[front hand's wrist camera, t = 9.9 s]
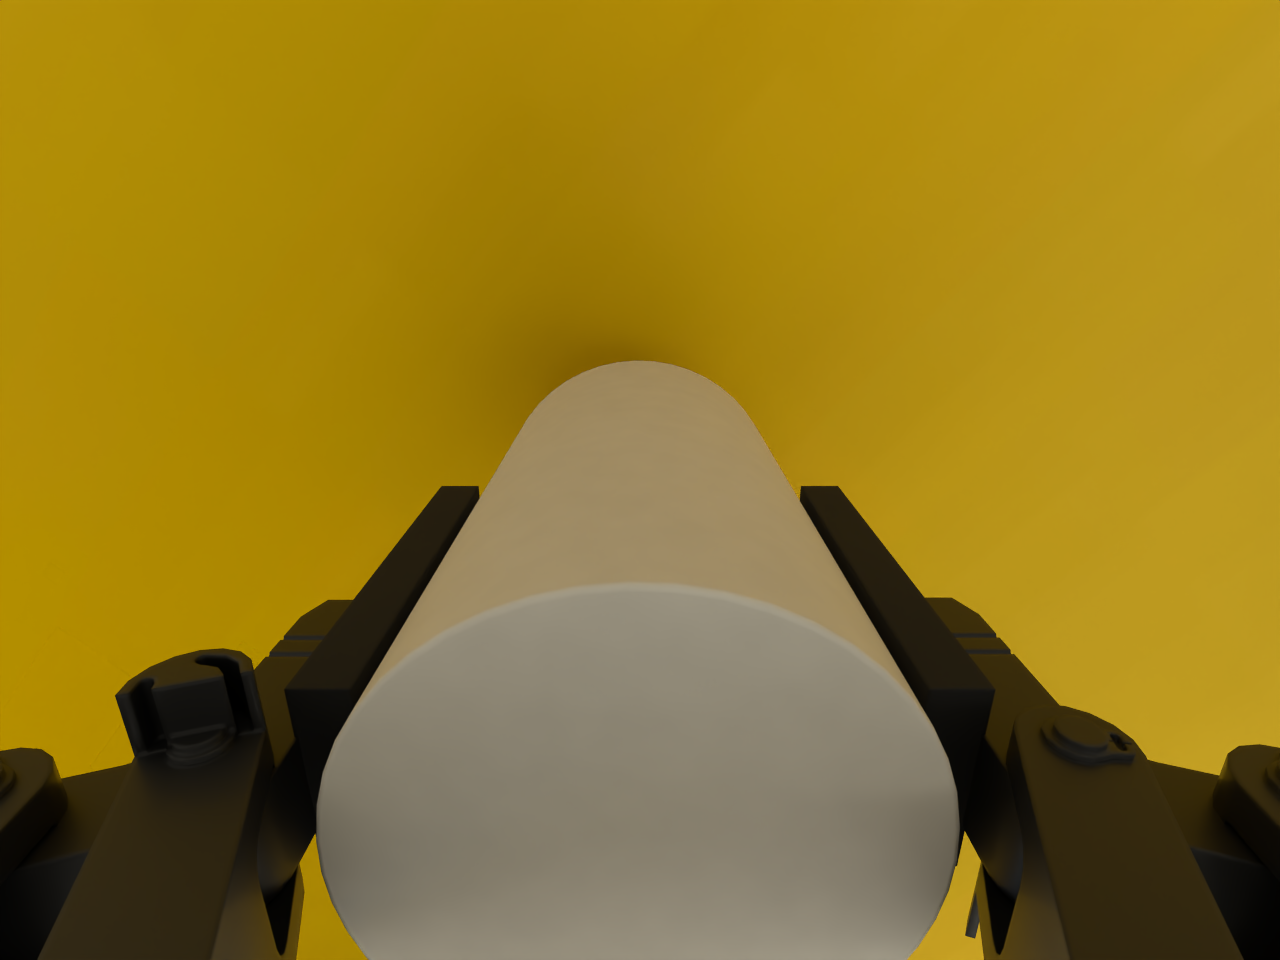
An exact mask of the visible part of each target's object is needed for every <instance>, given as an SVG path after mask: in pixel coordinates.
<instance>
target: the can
mask: <svg viewBox="0 0 1280 960" xmlns="http://www.w3.org/2000/svg"><path fill="white" fill-rule="evenodd" d="M959 832H960V821H959V809H958V797H957V790H956V786H955V782H954V778H953V774H952V771H951V767H950V763H949V759H948V757H947V755H946V753H945V751H944V748H943V746H942V744H941V742H940V740H939V738H938V736H937V733H936V731H935V729H934V727H933V725H932V724H931V722H930V720H929V718H928V717H927V715H926V713H925V712H924V710H923V708H922V707H921V705H920V703H919V702H918V700H917V698H916V697H915V695H914V693H913V691H912V690H911V688H910V686H909V685H908V683H907V681H906V680H905V678H904V676H903V675H902V673H901V671H900V669H899V668H898V666H897V664H896V663H895V661H894V659H893V658H892V656H891V654H890V653H889V651H888V649H887V648H886V646H885V644H884V642H883V641H882V639H881V637H880V636H879V634H878V632H877V631H876V629H875V627H874V626H873V624H872V622H871V621H870V619H869V617H868V615H867V614H866V612H865V610H864V609H863V607H862V605H861V604H860V602H859V600H858V599H857V597H856V595H855V594H854V592H853V590H852V588H851V587H850V585H849V583H848V582H847V580H846V578H845V577H844V575H843V573H842V572H841V570H840V568H839V566H838V565H837V563H836V561H835V560H834V558H833V556H832V555H831V553H830V551H829V550H828V548H827V546H826V545H825V543H824V541H823V539H822V538H821V536H820V534H819V533H818V531H817V529H816V528H815V526H814V524H813V523H812V521H811V519H810V518H809V516H808V514H807V512H806V511H805V509H804V507H803V506H802V504H801V502H800V501H799V499H798V497H797V496H796V494H795V492H794V491H793V489H792V487H791V485H790V484H789V482H788V480H787V479H786V477H785V475H784V474H783V472H782V470H781V469H780V467H779V465H778V464H777V462H776V460H775V458H774V457H773V455H772V453H771V452H770V450H769V448H768V447H767V445H766V443H765V442H764V440H763V438H762V436H761V435H760V433H759V431H758V430H757V428H756V426H755V425H754V423H753V422H752V420H751V419H750V417H749V416H748V414H747V413H746V411H745V410H744V409H743V408H742V407H741V406H740V405H739V403H738V402H737V401H736V400H735V399H734V398H733V397H732V396H731V395H729V394H728V393H727V392H726V391H725V390H723V389H722V388H721V387H720V386H718V385H717V384H715V383H713V382H712V381H710V380H709V379H707V378H706V377H704V376H701V375H699V374H697V373H695V372H693V371H691V370H688V369H685V368H682V367H679V366H675V365H672V364H667V363H661V362H655V361H625V362H616V363H612V364H607V365H603V366H599V367H596V368H593V369H591V370H588V371H585V372H583V373H581V374H579V375H577V376H575V377H573V378H571V379H569V380H567V381H566V382H564V383H563V384H562V385H560V386H559V387H557V388H556V389H555V390H553V391H552V392H551V393H550V394H549V395H548V396H547V397H546V398H544V399H543V400H542V401H541V402H540V403H539V404H538V406H537V407H536V408H535V409H534V411H533V412H532V413H531V414H530V416H529V417H528V419H527V420H526V422H525V424H524V425H523V427H522V429H521V430H520V432H519V434H518V435H517V437H516V439H515V440H514V442H513V444H512V445H511V447H510V449H509V450H508V452H507V454H506V455H505V457H504V459H503V460H502V462H501V464H500V465H499V467H498V469H497V470H496V472H495V474H494V475H493V477H492V479H491V480H490V482H489V484H488V485H487V487H486V489H485V490H484V492H483V494H482V495H481V497H480V499H479V500H478V502H477V504H476V505H475V507H474V509H473V510H472V512H471V514H470V515H469V517H468V519H467V520H466V522H465V524H464V525H463V527H462V529H461V530H460V532H459V534H458V535H457V537H456V539H455V540H454V542H453V544H452V545H451V547H450V549H449V550H448V552H447V554H446V555H445V557H444V559H443V560H442V562H441V564H440V565H439V567H438V569H437V570H436V572H435V574H434V575H433V577H432V579H431V580H430V582H429V584H428V585H427V587H426V589H425V590H424V592H423V594H422V595H421V597H420V599H419V600H418V602H417V604H416V605H415V607H414V609H413V610H412V612H411V614H410V615H409V617H408V619H407V620H406V622H405V624H404V625H403V627H402V629H401V630H400V632H399V634H398V635H397V637H396V639H395V640H394V642H393V644H392V645H391V647H390V649H389V650H388V652H387V654H386V655H385V657H384V659H383V660H382V662H381V664H380V665H379V667H378V669H377V670H376V672H375V674H374V675H373V677H372V679H371V680H370V682H369V684H368V685H367V687H366V689H365V690H364V692H363V694H362V695H361V697H360V699H359V700H358V702H357V704H356V705H355V707H354V709H353V710H352V712H351V714H350V715H349V717H348V719H347V721H346V722H345V724H344V726H343V727H342V729H341V731H340V732H339V734H338V736H337V737H336V739H335V741H334V744H333V747H332V749H331V752H330V755H329V757H328V760H327V763H326V765H325V768H324V771H323V774H322V780H321V785H320V790H319V796H318V801H317V827H316V842H317V848H318V854H319V860H320V866H321V872H322V875H323V878H324V881H325V884H326V887H327V890H328V893H329V895H330V898H331V901H332V904H333V905H334V907H335V909H336V911H337V913H338V915H339V917H340V919H341V920H342V922H343V924H344V926H345V928H346V930H347V931H348V933H349V934H350V935H351V937H352V938H353V940H354V941H355V942H356V944H357V945H358V946H359V948H360V949H361V950H362V952H363V953H364V955H365V956H366V957H367V958H368V959H369V960H907V959H908V958H909V956H910V955H911V954H912V953H913V952H914V951H915V949H916V948H917V947H918V946H919V944H920V943H921V941H922V940H923V938H924V937H925V935H926V933H927V932H928V930H929V929H930V927H931V926H932V924H933V923H934V921H935V920H936V917H937V915H938V913H939V911H940V909H941V906H942V904H943V902H944V900H945V898H946V895H947V893H948V891H949V887H950V884H951V880H952V876H953V873H954V869H955V865H956V861H957V853H958V843H959Z"/></svg>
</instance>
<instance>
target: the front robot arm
mask: <svg viewBox="0 0 1280 960" xmlns="http://www.w3.org/2000/svg"><path fill="white" fill-rule="evenodd" d="M479 499H480V498H479V487H478V486H441V488H440V489H439V490H438V491H437V493H436V494H435V495H434V497H433V498H432V499H431V500H430V502H429V503H428V504H427V506H426V507H425V508H424V510H423V511H422V512H421V513H420V515H419V516H418V517H417V519H416V520H415V521H414V522H413V524H412V525H411V526H410V528H409V529H408V530H407V531H406V533H405V534H404V535H403V537H402V538H401V539H400V540H399V542H398V543H397V544H396V546H395V547H394V548H393V549H392V551H391V552H390V553H389V555H388V556H387V557H386V558H385V560H384V561H383V562H382V564H381V565H380V566H379V568H378V569H377V570H376V571H375V573H374V574H373V575H372V577H371V578H370V579H369V580H368V582H367V583H366V584H365V586H364V587H363V588H362V589H361V591H360V592H359V593H358V595H357V596H356V597H355V598H354V600H327V601H326V602H324V603H322V604H321V605H319V606H318V607H316V608H314V609H313V610H311V611H309V612H308V613H306V614H305V615H303V616H301V617H300V618H299V620H298V621H297V622H296V623H295V624H294V625H293V626H292V627H291V629H290V630H289V631H288V632H287V633H286V634H285V635H284V640H280V641H279V642H278V643H277V645H276V646H275V647H274V648H273V649H272V650H271V651H270V655H269V657H265V658H264V659H263V661H262V662H261V663H260V664H259V665H258V666H257V667H256V668H255V670H254V669H253V665H252V660H251V659H250V658H249V657H248V656H246V655H245V654H244V653H242V652H241V651H235V650H229V649H209V650H199V651H195V652H191V653H187V654H183V655H179V656H175V657H173V658H170V659H168V660H165V661H163V662H161V663H158V664H156V665H154V666H151V667H149V668H148V669H146V670H144V671H143V672H141V673H140V674H138V675H137V676H135V677H134V678H132V679H131V680H129V681H128V682H127V683H126V684H125V685H124V686H123V687H122V688H121V690H120V691H119V692H118V693H117V694H116V695H115V697H116V700H117V703H118V706H119V709H120V712H121V716H122V719H123V722H124V725H125V728H126V731H127V734H128V737H129V740H130V743H131V746H132V749H133V753H134V756H135V757H134V759H133V761H132V763H130V764H126V765H123V766H118V767H113V768H109V769H104V770H99V771H95V772H90V773H85V774H81V775H76V776H71V777H67V778H62V779H61V778H60V775H59V772H58V770H57V767H56V764H55V762H54V759H53V757H52V756H51V755H49V754H48V753H46V752H45V751H43V750H42V749H32V748H16V749H10V750H4V751H0V960H296V955H297V947H298V939H299V931H300V923H301V915H302V907H303V900H304V885H303V878H302V873H301V869H300V865H299V862H300V860H301V859H302V857H303V855H304V853H305V851H306V849H307V847H308V846H309V844H310V842H311V840H312V838H313V836H314V835H315V833H316V827H317V801H318V796H319V790H320V785H321V780H322V774H323V771H324V768H325V765H326V763H327V760H328V757H329V755H330V752H331V749H332V747H333V744H334V741H335V739H336V737H337V736H338V734H339V732H340V731H341V729H342V727H343V726H344V724H345V722H346V721H347V719H348V717H349V715H350V714H351V712H352V710H353V709H354V707H355V705H356V704H357V702H358V700H359V699H360V697H361V695H362V694H363V692H364V690H365V689H366V687H367V685H368V684H369V682H370V680H371V679H372V677H373V675H374V674H375V672H376V670H377V669H378V667H379V665H380V664H381V662H382V660H383V659H384V657H385V655H386V654H387V652H388V650H389V649H390V647H391V645H392V644H393V642H394V640H395V639H396V637H397V635H398V634H399V632H400V630H401V629H402V627H403V625H404V624H405V622H406V620H407V619H408V617H409V615H410V614H411V612H412V610H413V609H414V607H415V605H416V604H417V602H418V600H419V599H420V597H421V595H422V594H423V592H424V590H425V589H426V587H427V585H428V584H429V582H430V580H431V579H432V577H433V575H434V574H435V572H436V570H437V569H438V567H439V565H440V564H441V562H442V560H443V559H444V557H445V555H446V554H447V552H448V550H449V549H450V547H451V545H452V544H453V542H454V540H455V539H456V537H457V535H458V534H459V532H460V530H461V529H462V527H463V525H464V524H465V522H466V520H467V519H468V517H469V515H470V514H471V512H472V510H473V509H474V507H475V505H476V504H477V502H478V500H479ZM800 502H801V504H802V506H803V507H804V509H805V511H806V512H807V514H808V516H809V518H810V519H811V521H812V523H813V524H814V526H815V528H816V529H817V531H818V533H819V534H820V536H821V538H822V539H823V541H824V543H825V545H826V546H827V548H828V550H829V551H830V553H831V555H832V556H833V558H834V560H835V561H836V563H837V565H838V566H839V568H840V570H841V572H842V573H843V575H844V577H845V578H846V580H847V582H848V583H849V585H850V587H851V588H852V590H853V592H854V594H855V595H856V597H857V599H858V600H859V602H860V604H861V605H862V607H863V609H864V610H865V612H866V614H867V615H868V617H869V619H870V621H871V622H872V624H873V626H874V627H875V629H876V631H877V632H878V634H879V636H880V637H881V639H882V641H883V642H884V644H885V646H886V648H887V649H888V651H889V653H890V654H891V656H892V658H893V659H894V661H895V663H896V664H897V666H898V668H899V669H900V671H901V673H902V675H903V676H904V678H905V680H906V681H907V683H908V685H909V686H910V688H911V690H912V691H913V693H914V695H915V697H916V698H917V700H918V702H919V703H920V705H921V707H922V708H923V710H924V712H925V713H926V715H927V717H928V718H929V720H930V722H931V724H932V725H933V727H934V729H935V731H936V733H937V736H938V738H939V740H940V742H941V744H942V746H943V748H944V751H945V753H946V755H947V757H948V759H949V763H950V767H951V771H952V774H953V778H954V782H955V786H956V790H957V797H958V809H959V821H960V832H959V843H958V853H957V861H956V865H955V866H957V863H958V859H959V854H960V849H961V845H962V840H963V836H964V831H965V832H966V834H967V836H968V837H969V839H970V841H971V843H972V845H973V847H974V849H975V850H976V852H977V854H978V856H979V858H980V860H981V865H980V869H979V873H978V877H977V882H976V886H975V890H974V894H973V899H972V903H971V907H970V911H969V916H968V920H967V927H966V934H965V936H968V937H972V938H975V937H976V933H977V928H978V924H979V922H980V930H981V938H982V946H983V954H984V960H1280V748H1277V747H1272V746H1266V745H1260V744H1259V745H1246V746H1238V747H1237V748H1235V749H1234V750H1233V751H1231V752H1230V753H1228V755H1227V757H1226V760H1225V762H1224V765H1223V768H1222V770H1221V773H1220V776H1219V775H1214V774H1209V773H1204V772H1200V771H1195V770H1190V769H1186V768H1181V767H1176V766H1172V765H1167V764H1162V763H1158V762H1154V761H1150V760H1147V758H1146V756H1145V754H1144V753H1143V752H1142V751H1141V749H1140V748H1139V747H1138V745H1137V744H1136V743H1135V741H1134V740H1133V739H1132V738H1130V737H1129V736H1128V735H1126V734H1125V733H1124V732H1122V731H1121V730H1120V729H1118V728H1117V727H1116V726H1114V725H1113V724H1111V723H1109V722H1106V721H1104V720H1102V719H1100V718H1098V717H1096V716H1094V715H1092V714H1090V713H1087V712H1083V711H1080V710H1077V709H1073V708H1070V707H1066V706H1060V705H1059V704H1058V703H1057V702H1056V701H1055V700H1054V699H1053V698H1052V696H1051V695H1050V694H1049V693H1048V692H1047V691H1046V690H1045V688H1044V687H1043V686H1042V685H1041V684H1040V683H1039V682H1038V681H1037V679H1036V678H1035V677H1034V676H1033V675H1032V674H1031V673H1030V672H1029V670H1028V669H1027V668H1026V667H1025V666H1024V665H1023V664H1022V662H1021V661H1020V660H1019V659H1018V658H1017V657H1016V656H1015V655H1014V654H1011V652H1010V649H1009V648H1008V647H1007V646H1006V644H1005V643H1004V642H1003V641H1002V640H1001V639H1000V638H997V637H996V633H995V632H994V631H993V630H992V629H991V627H990V626H989V625H988V624H987V623H986V622H985V621H984V620H983V618H982V617H981V616H980V615H979V614H978V613H976V612H974V611H973V610H971V609H969V608H968V607H966V606H964V605H963V604H961V603H960V602H958V601H956V600H955V599H953V598H924V596H923V595H922V594H921V593H920V591H919V590H918V589H917V587H916V586H915V585H914V584H913V582H912V581H911V580H910V578H909V577H908V576H907V575H906V573H905V572H904V571H903V569H902V568H901V567H900V566H899V564H898V563H897V562H896V560H895V559H894V558H893V557H892V555H891V554H890V553H889V551H888V550H887V549H886V547H885V546H884V545H883V544H882V542H881V541H880V540H879V538H878V537H877V536H876V535H875V533H874V532H873V531H872V529H871V528H870V527H869V526H868V524H867V523H866V522H865V520H864V519H863V518H862V517H861V515H860V514H859V513H858V511H857V510H856V509H855V508H854V506H853V505H852V504H851V502H850V501H849V500H848V499H847V497H846V496H845V495H844V493H843V492H842V491H841V489H840V488H839V487H838V486H801V493H800Z"/></svg>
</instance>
